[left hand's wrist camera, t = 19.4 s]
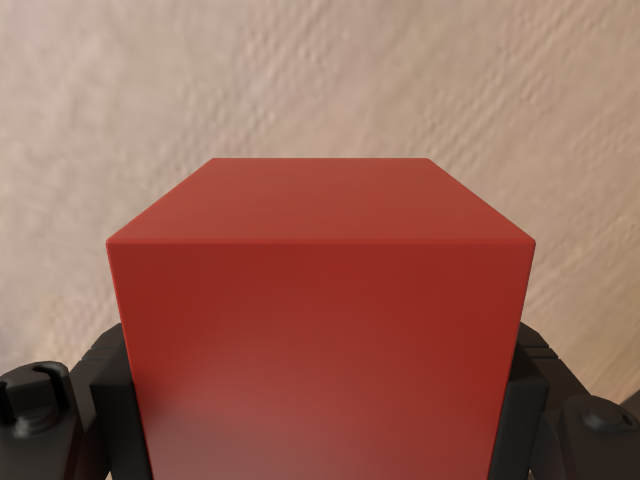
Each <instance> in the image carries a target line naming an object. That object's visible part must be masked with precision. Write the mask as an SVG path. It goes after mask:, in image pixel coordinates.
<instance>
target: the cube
mask: <svg viewBox="0 0 640 480" xmlns="http://www.w3.org/2000/svg"><path fill="white" fill-rule="evenodd" d="M535 246H536V242H535V240H534V239H533V238H532V237H530V236H529V235H528V234H526V233H525V232H524V231H522V230H521V229H520V228H519V227H517V226H516V225H515V224H513V223H512V222H511V221H509V220H508V219H507V218H505V217H504V216H503V215H502V214H500V213H499V212H498V211H496V210H495V209H494V208H492V207H491V206H490V205H488V204H487V203H486V202H485V201H483V200H482V199H481V198H479V197H478V196H477V195H475V194H474V193H473V192H471V191H470V190H469V189H468V188H466V187H465V186H464V185H462V184H461V183H460V182H458V181H457V180H456V179H454V178H453V177H452V176H451V175H449V174H448V173H447V172H445V171H444V170H443V169H441V168H440V167H439V166H437V165H436V164H435V163H434V162H432V161H431V160H430V159H428V158H213V159H211V160H210V161H208V162H207V163H206V164H204V165H203V166H202V167H200V168H199V169H198V170H197V171H195V172H194V173H193V174H191V175H190V176H189V177H187V178H186V179H185V180H184V181H182V182H181V183H180V184H178V185H177V186H176V187H175V188H173V189H172V190H171V191H169V192H168V193H167V194H165V195H164V196H163V197H162V198H160V199H159V200H158V201H156V202H155V203H154V204H153V205H151V206H150V207H149V208H147V209H146V210H145V211H143V212H142V213H141V214H140V215H138V216H137V217H136V218H134V219H133V220H132V221H131V222H129V223H128V224H127V225H125V226H124V227H123V228H121V229H120V230H119V231H118V232H116V233H115V234H114V235H112V236H111V237H110V238H108V239H107V240H106V249H107V254H108V259H109V264H110V269H111V274H112V279H113V284H114V289H115V294H116V299H117V303H118V308H119V313H120V318H121V323H122V328H123V333H124V338H125V343H126V348H127V353H128V358H129V363H130V368H131V373H132V378H133V383H134V388H135V393H136V398H137V403H138V408H139V413H140V418H141V423H142V428H143V433H144V438H145V443H146V448H147V453H148V458H149V463H150V468H151V473H152V478H153V480H488V477H489V472H490V467H491V462H492V457H493V452H494V447H495V442H496V437H497V432H498V427H499V422H500V417H501V413H502V408H503V403H504V398H505V393H506V388H507V383H508V379H509V374H510V369H511V364H512V359H513V354H514V350H515V345H516V340H517V335H518V330H519V325H520V320H521V315H522V310H523V305H524V300H525V295H526V290H527V286H528V281H529V276H530V271H531V266H532V261H533V256H534V251H535Z"/></svg>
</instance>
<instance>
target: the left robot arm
mask: <svg viewBox="0 0 640 480" xmlns="http://www.w3.org/2000/svg"><path fill="white" fill-rule="evenodd" d="M530 470H531V472H532V474H533V476H534V477H535V479H536V480H640V422H639V421H638V420H637V418H636V417H634V416H633V415H632V414H631V413H630V412H628V411H627V410H626V409H625V408H623V407H621V406H619V405H617V404H615V403H613V402H612V401H610V400H606V399H603V398H600V397H597V396H593V395H591V394H590V393H589V392H588V391H587V390H586V389H585V387H584V386H583V385H582V384H581V383H580V382H579V380H578V379H577V378H576V377H575V376H574V374H573V373H572V372H571V371H570V370H569V369H568V367H567V366H566V365H565V364H564V363H563V361H562V360H561V359H558V356H557V354H556V353H555V352H554V351H553V350H552V349H551V348H549V345H548V344H547V343H546V341H545V340H544V339H543V338H542V337H541V336H540V334H539V333H538V332H536V331H535V330H533V329H532V328H530V327H528V326H527V325H525V324H524V323H522V322H520V325H519V330H518V335H517V340H516V345H515V350H514V354H513V359H512V364H511V369H510V374H509V379H508V383H507V388H506V393H505V398H504V403H503V408H502V413H501V417H500V422H499V427H498V432H497V437H496V442H495V447H494V452H493V457H492V462H491V467H490V472H489V477H488V480H527V479H528V475H529V471H530ZM109 472H111V476H112V480H153V478H152V473H151V468H150V463H149V458H148V453H147V448H146V443H145V438H144V433H143V428H142V423H141V418H140V413H139V408H138V403H137V398H136V393H135V388H134V383H133V378H132V373H131V368H130V363H129V358H128V353H127V348H126V343H125V338H124V333H123V328H122V323H118V324H117V325H115V326H114V327H112V328H111V329H109V330H108V331H106V332H104V333H103V334H102V335H101V336H100V337H99V338H98V339H97V341H96V342H95V343H94V344H93V345H92V346H91V350H88V351H87V352H86V354H85V355H84V356H83V357H82V360H81V361H79V362H78V363H77V364H76V365H75V367H74V368H73V369H72V370H71V371H70V373H69V371H68V368H67V367H66V366H65V365H63V364H62V363H60V362H54V361H43V362H34V363H31V364H27V365H24V366H20V367H18V368H16V369H14V370H11V371H9V372H7V373H5V374H3V375H2V376H0V480H105V479H106V477H107V475H108V473H109Z"/></svg>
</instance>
